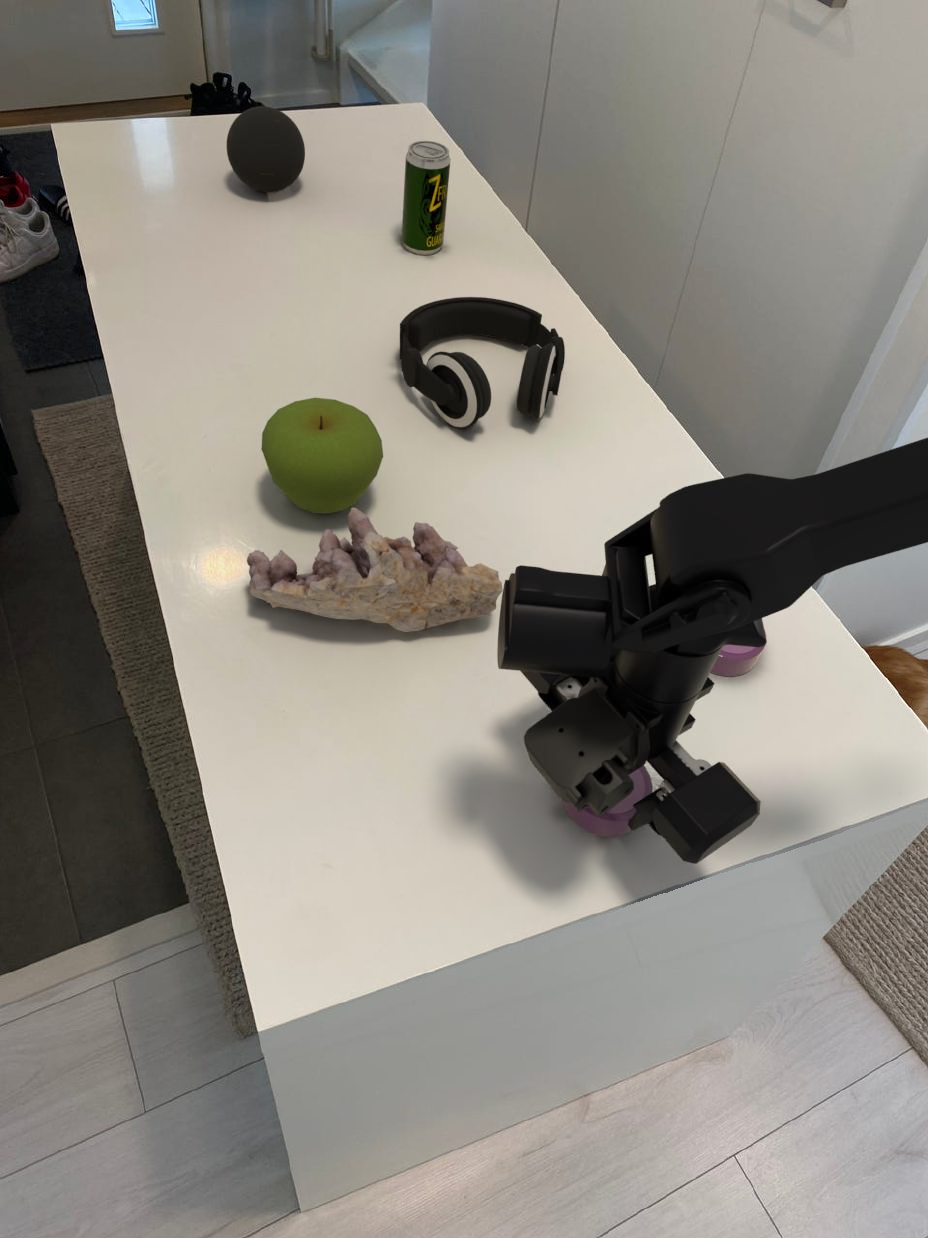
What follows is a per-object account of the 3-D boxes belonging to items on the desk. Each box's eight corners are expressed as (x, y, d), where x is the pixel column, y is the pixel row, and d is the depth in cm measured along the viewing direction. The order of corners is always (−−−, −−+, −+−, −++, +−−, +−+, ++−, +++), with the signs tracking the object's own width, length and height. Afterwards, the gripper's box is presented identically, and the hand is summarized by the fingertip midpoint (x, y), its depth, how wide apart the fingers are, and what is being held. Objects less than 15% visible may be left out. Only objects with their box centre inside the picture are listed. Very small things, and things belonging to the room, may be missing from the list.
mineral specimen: (252, 631, 71) (258, 499, 70) (241, 616, 80) (247, 500, 79) (504, 640, 77) (513, 519, 76) (466, 625, 87) (474, 517, 86)
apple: (402, 502, 90) (408, 419, 82) (319, 555, 84) (317, 471, 76) (326, 445, 94) (326, 361, 86) (242, 492, 88) (233, 406, 81)
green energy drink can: (393, 246, 119) (397, 150, 110) (415, 229, 122) (421, 135, 113) (429, 260, 118) (436, 164, 109) (450, 243, 121) (459, 149, 112)
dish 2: (772, 657, 82) (782, 640, 80) (720, 688, 79) (730, 670, 77) (721, 609, 85) (729, 591, 83) (669, 636, 82) (677, 618, 80)
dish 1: (662, 810, 70) (670, 794, 68) (597, 852, 68) (605, 836, 66) (607, 748, 73) (614, 730, 72) (543, 785, 71) (549, 769, 69)
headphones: (432, 378, 89) (380, 286, 102) (428, 448, 94) (379, 352, 107) (603, 362, 93) (531, 276, 107) (589, 430, 99) (523, 340, 112)
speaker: (214, 187, 124) (206, 108, 117) (264, 163, 130) (259, 86, 122) (272, 214, 121) (267, 134, 114) (321, 188, 127) (320, 110, 119)
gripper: (467, 615, 59) (446, 747, 71) (667, 848, 50) (604, 954, 62) (601, 552, 64) (560, 685, 76) (805, 754, 55) (722, 870, 67)
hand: (605, 790), depth 70 cm, fingers closed on dish 1, 6 cm apart
